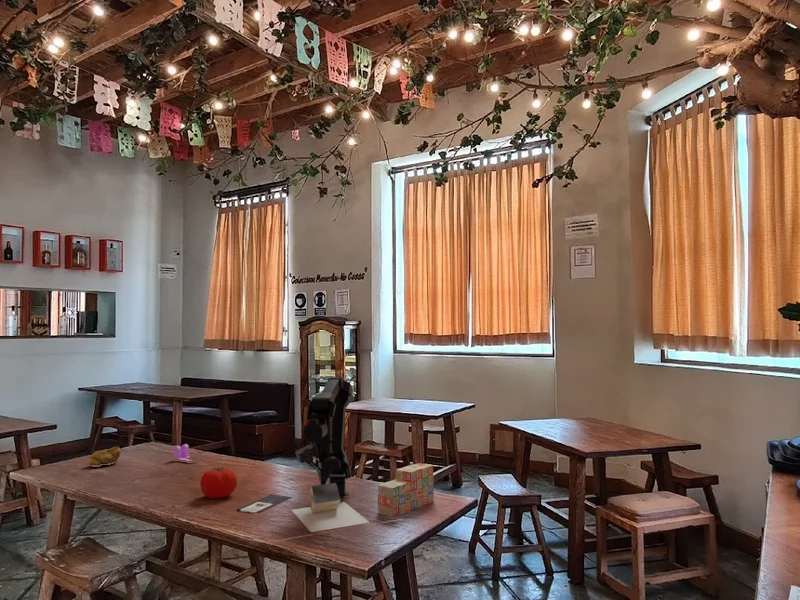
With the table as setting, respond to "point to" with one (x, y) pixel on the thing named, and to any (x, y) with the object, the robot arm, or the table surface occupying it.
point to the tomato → (218, 482)
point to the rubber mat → (329, 518)
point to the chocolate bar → (263, 503)
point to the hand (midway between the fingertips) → (322, 485)
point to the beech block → (324, 498)
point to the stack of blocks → (406, 490)
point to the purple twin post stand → (181, 452)
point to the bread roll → (105, 456)
